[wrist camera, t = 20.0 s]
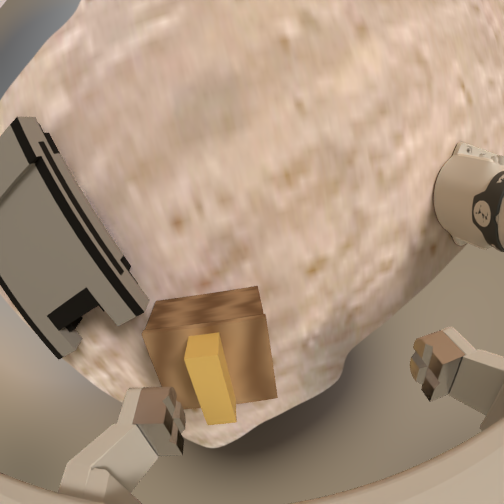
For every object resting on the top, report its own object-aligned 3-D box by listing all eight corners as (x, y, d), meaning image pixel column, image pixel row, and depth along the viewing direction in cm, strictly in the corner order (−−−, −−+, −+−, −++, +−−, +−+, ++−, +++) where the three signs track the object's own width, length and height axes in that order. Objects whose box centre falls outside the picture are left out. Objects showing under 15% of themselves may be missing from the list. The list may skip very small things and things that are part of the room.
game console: (73, 336, 47) (56, 364, 39) (-20, 195, 36) (-48, 206, 29) (154, 288, 45) (142, 316, 37) (48, 117, 34) (17, 116, 26)
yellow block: (219, 332, 37) (218, 355, 33) (235, 398, 41) (236, 422, 36) (188, 336, 37) (183, 358, 33) (209, 401, 41) (207, 425, 36)
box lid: (265, 313, 38) (265, 317, 37) (276, 393, 42) (277, 397, 41) (143, 330, 38) (141, 334, 37) (172, 405, 42) (171, 409, 41)
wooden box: (257, 285, 46) (263, 313, 38) (267, 355, 51) (274, 387, 43) (156, 301, 45) (144, 329, 38) (179, 367, 50) (174, 398, 43)
